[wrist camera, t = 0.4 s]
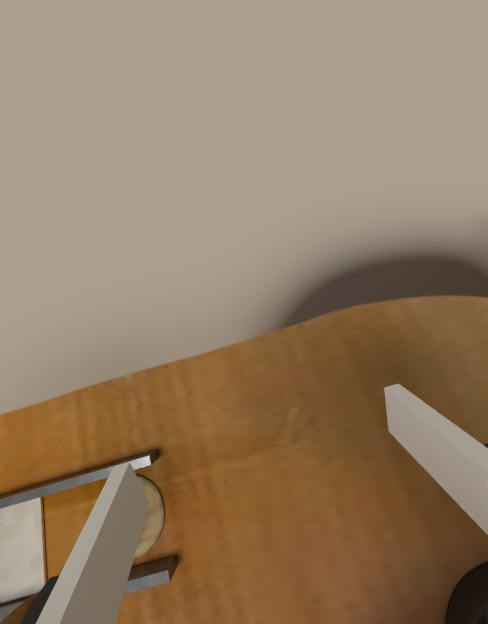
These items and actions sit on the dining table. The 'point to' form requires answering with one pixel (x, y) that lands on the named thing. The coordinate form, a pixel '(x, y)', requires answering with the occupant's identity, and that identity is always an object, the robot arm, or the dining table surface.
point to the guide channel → (31, 538)
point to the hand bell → (146, 541)
